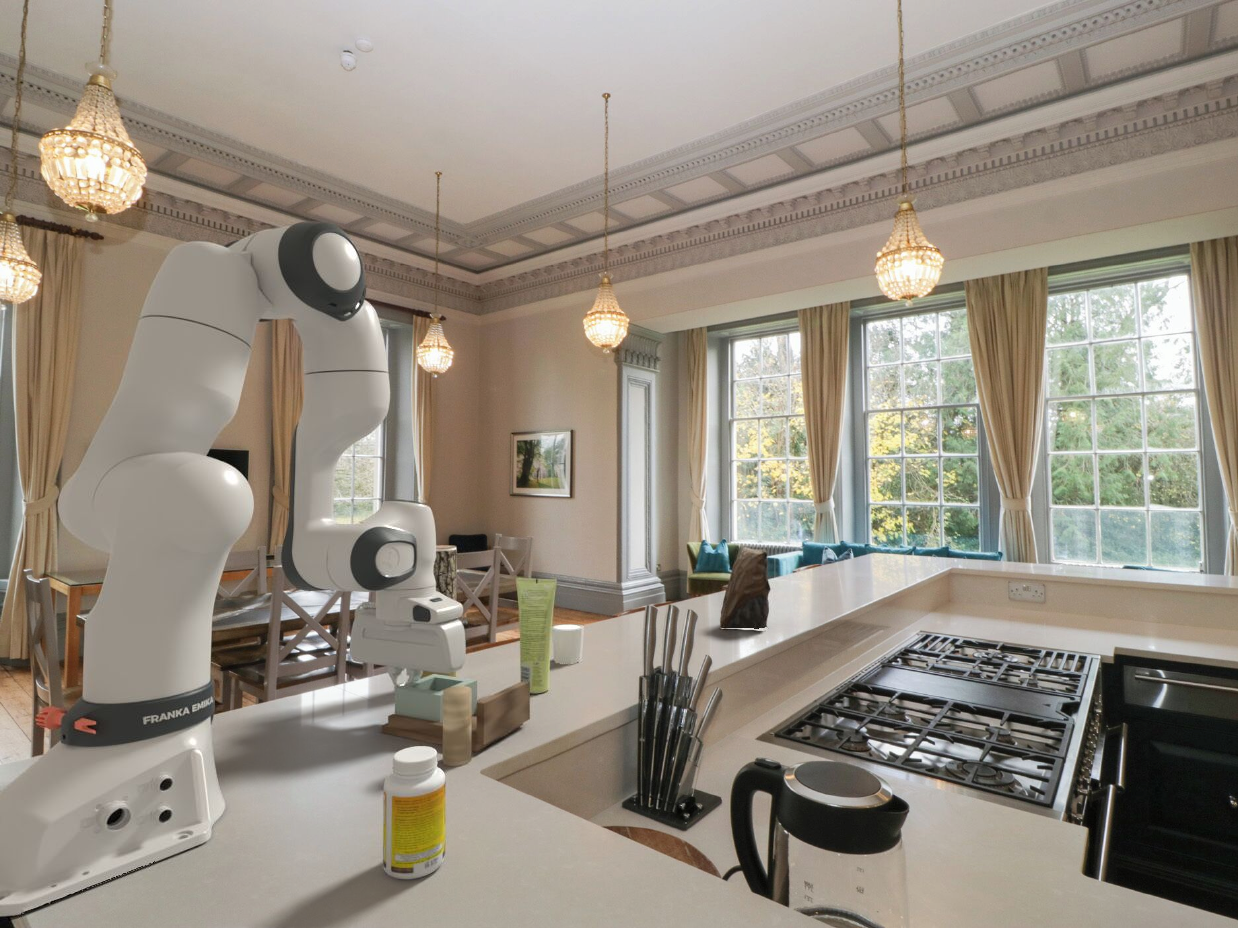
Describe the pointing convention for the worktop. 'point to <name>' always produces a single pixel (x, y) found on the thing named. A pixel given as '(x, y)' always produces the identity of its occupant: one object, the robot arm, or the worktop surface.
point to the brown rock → (747, 592)
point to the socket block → (430, 696)
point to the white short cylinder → (567, 643)
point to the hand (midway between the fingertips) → (405, 695)
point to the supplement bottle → (414, 814)
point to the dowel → (457, 725)
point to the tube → (535, 630)
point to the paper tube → (445, 580)
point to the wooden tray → (472, 719)
